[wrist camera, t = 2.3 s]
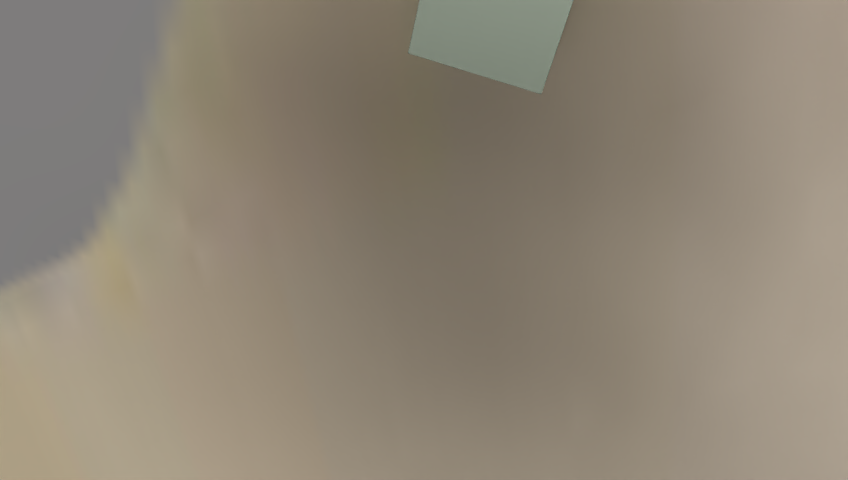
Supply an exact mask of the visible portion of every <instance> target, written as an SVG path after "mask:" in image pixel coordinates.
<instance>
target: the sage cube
mask: <svg viewBox="0 0 848 480" xmlns="http://www.w3.org/2000/svg"><path fill="white" fill-rule="evenodd" d="M572 3H573V0H420V1H419V5H418V10H417V14H416V19H415V24H414V28H413V33H412V37H411V42H410V47H409V51H408V53H409V54H412V55H415V56H419V57H422V58H425V59H428V60H432V61H435V62H438V63H441V64H444V65H448V66H451V67H454V68H457V69H461V70H464V71H467V72H470V73H474V74H477V75H480V76H483V77H487V78H490V79H493V80H496V81H500V82H503V83H506V84H509V85H513V86H516V87H519V88H522V89H526V90H529V91H532V92H535V93H539V94H541V93H542V91H543V88H544V85H545V82H546V79H547V76H548V73H549V70H550V67H551V64H552V61H553V58H554V56H555V53H556V50H557V47H558V44H559V41H560V38H561V35H562V32H563V29H564V26H565V23H566V20H567V18H568V15H569V12H570V9H571V6H572Z"/></svg>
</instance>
